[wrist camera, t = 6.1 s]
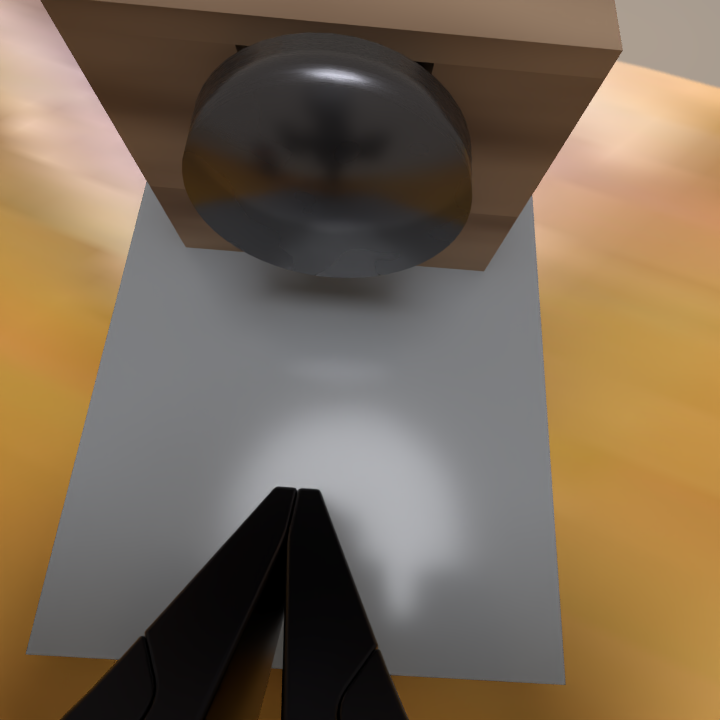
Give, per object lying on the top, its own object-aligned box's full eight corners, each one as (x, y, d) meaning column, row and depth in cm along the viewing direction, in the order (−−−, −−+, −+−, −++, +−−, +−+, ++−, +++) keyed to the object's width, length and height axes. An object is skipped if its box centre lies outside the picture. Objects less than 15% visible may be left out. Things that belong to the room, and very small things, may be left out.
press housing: (483, 271, 17) (622, 50, 9) (185, 247, 16) (37, -6, 8) (478, 70, 20) (576, -232, 12) (228, 46, 19) (150, -279, 11)
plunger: (437, 285, 13) (520, 104, 7) (222, 268, 13) (126, 68, 7) (440, 31, 17) (498, -240, 11) (268, 15, 17) (227, -270, 10)
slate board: (549, 672, 14) (565, 684, 13) (48, 643, 13) (25, 654, 12) (515, 93, 21) (523, 74, 20) (189, 64, 20) (182, 42, 19)
